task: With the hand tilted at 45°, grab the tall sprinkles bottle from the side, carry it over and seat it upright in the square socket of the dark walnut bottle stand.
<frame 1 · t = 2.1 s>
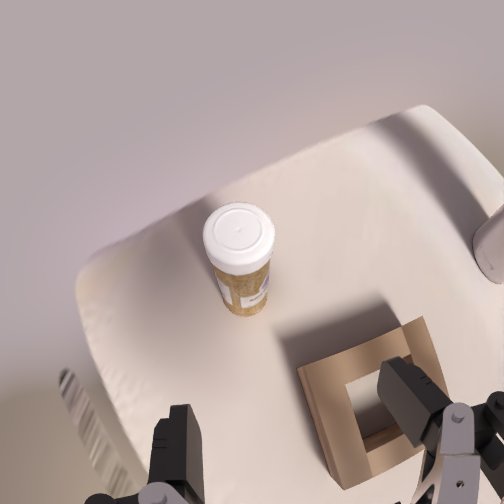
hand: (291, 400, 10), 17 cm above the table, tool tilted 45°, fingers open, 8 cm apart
walnut bottle stand: (372, 402, 24), on the table
sprinkles bottle: (245, 296, 30), on the table
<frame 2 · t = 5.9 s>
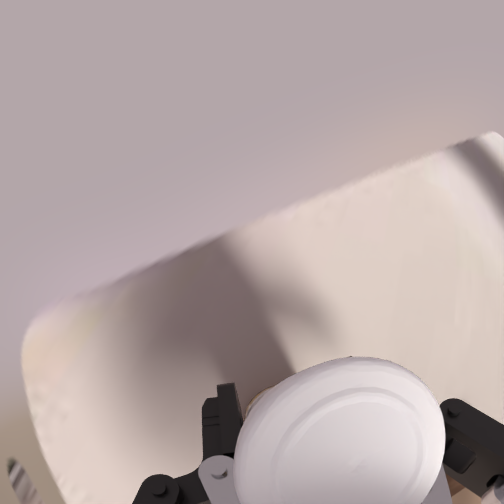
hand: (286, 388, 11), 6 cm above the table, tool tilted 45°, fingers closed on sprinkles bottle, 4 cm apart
sprinkles bottle: (280, 418, 16), on the table, touching gripper
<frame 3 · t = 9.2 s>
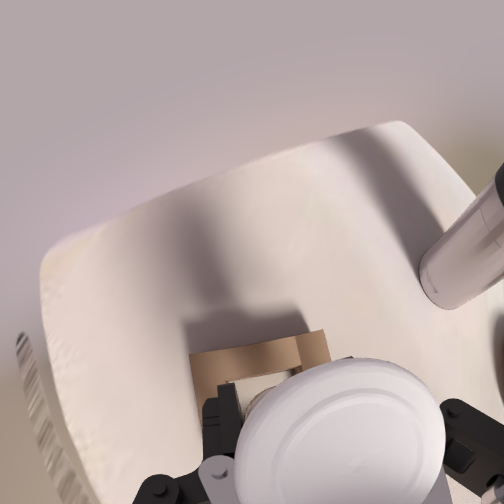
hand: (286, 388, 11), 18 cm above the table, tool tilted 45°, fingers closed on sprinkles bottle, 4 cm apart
walnut bottle stand: (267, 407, 27), on the table
sprinkles bottle: (280, 418, 16), point 12 cm above the table, touching gripper
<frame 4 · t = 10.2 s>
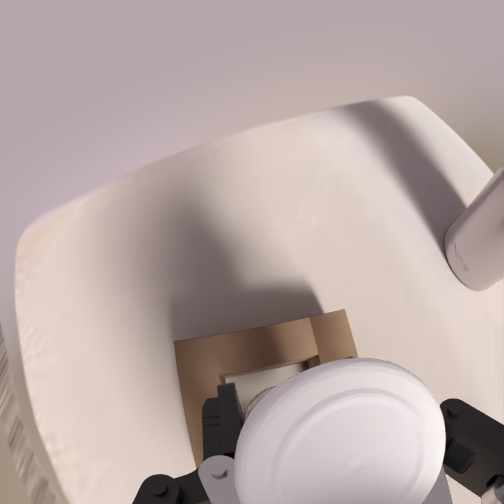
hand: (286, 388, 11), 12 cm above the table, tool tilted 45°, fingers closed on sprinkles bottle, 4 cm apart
walnut bottle stand: (274, 409, 21), on the table
sprinkles bottle: (280, 418, 16), point 6 cm above the table, touching gripper
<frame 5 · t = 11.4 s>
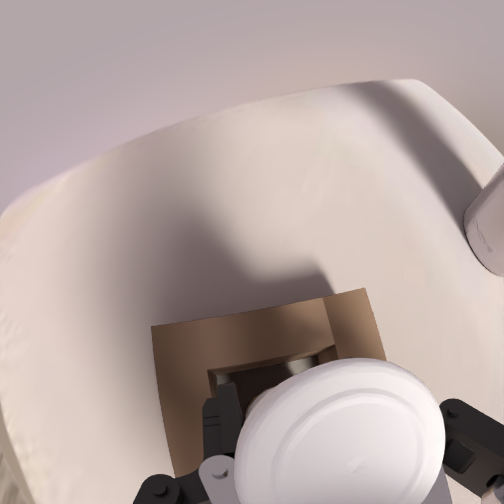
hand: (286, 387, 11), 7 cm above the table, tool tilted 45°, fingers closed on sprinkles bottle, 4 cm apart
walnut bottle stand: (277, 414, 17), on the table
sprinkles bottle: (280, 418, 16), point 1 cm above the table, touching gripper
when the fingers open (7 cm above the table, at t = 11.5 s): sprinkles bottle drops 1 cm, resting in walnut bottle stand.
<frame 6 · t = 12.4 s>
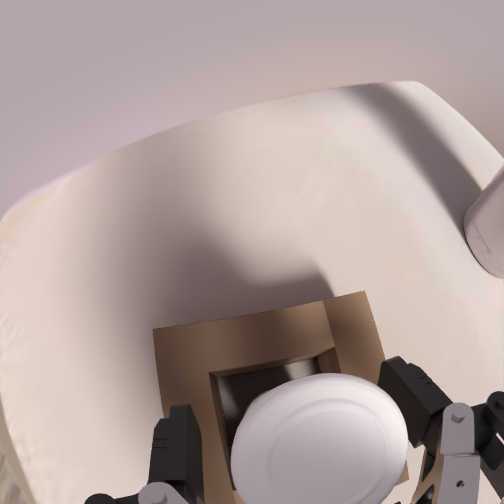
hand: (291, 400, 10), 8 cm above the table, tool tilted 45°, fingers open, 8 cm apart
walnut bottle stand: (278, 416, 17), on the table
sprinkles bottle: (276, 418, 17), resting in walnut bottle stand
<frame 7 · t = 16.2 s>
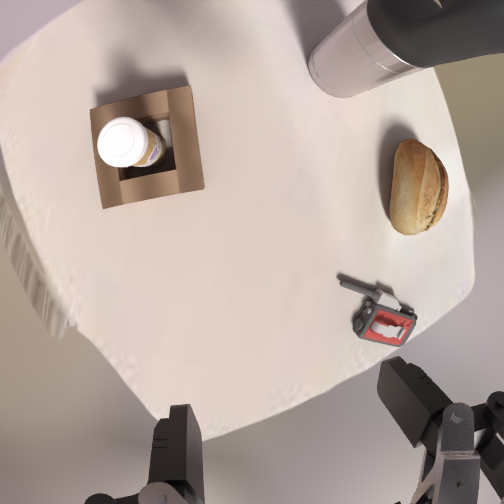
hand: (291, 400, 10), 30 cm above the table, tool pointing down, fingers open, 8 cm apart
walnut bottle stand: (150, 148, 34), on the table
sprinkles bottle: (150, 150, 34), resting in walnut bottle stand
bread roll: (403, 185, 41), on the table
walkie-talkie: (372, 311, 47), on the table
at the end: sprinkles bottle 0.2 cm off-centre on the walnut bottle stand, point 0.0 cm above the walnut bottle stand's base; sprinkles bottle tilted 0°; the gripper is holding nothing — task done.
